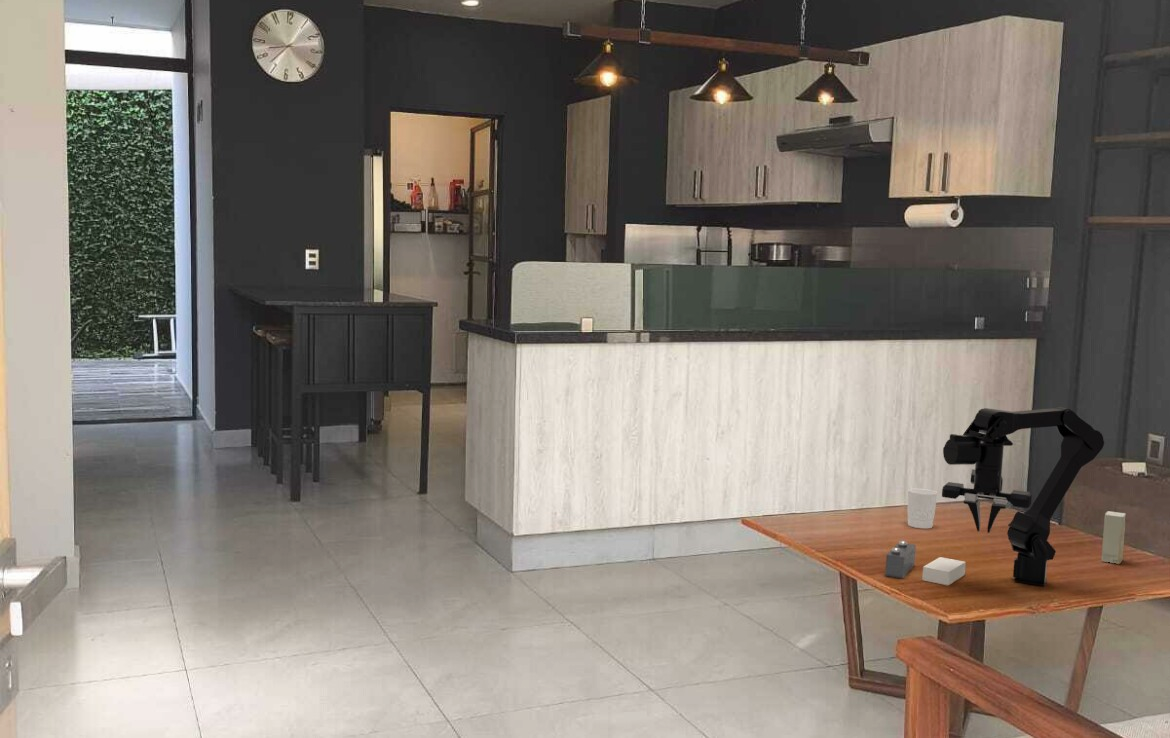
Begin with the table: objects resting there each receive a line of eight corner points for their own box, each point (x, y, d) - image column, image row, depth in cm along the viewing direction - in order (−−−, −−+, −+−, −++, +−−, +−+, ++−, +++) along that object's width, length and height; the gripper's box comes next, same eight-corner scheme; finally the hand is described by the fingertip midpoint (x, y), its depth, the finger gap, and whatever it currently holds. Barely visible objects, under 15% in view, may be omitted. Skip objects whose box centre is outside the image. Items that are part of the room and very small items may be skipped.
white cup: (901, 522, 311) (903, 488, 310) (927, 523, 311) (930, 488, 311) (912, 529, 303) (914, 493, 302) (939, 529, 304) (942, 494, 303)
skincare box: (1119, 564, 273) (1123, 517, 272) (1100, 561, 275) (1104, 514, 274) (1122, 559, 278) (1126, 512, 277) (1103, 556, 281) (1107, 510, 279)
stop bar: (914, 565, 264) (916, 540, 264) (902, 578, 252) (904, 553, 251) (897, 562, 266) (899, 538, 265) (885, 575, 254) (886, 550, 253)
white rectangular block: (964, 576, 257) (965, 561, 257) (948, 586, 248) (949, 571, 247) (939, 571, 261) (940, 557, 261) (922, 581, 251) (923, 566, 251)
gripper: (1036, 464, 251) (1030, 531, 252) (951, 455, 259) (947, 519, 261) (1031, 471, 241) (1025, 540, 243) (943, 461, 250) (939, 528, 251)
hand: (983, 531), depth 249 cm, fingers closed
